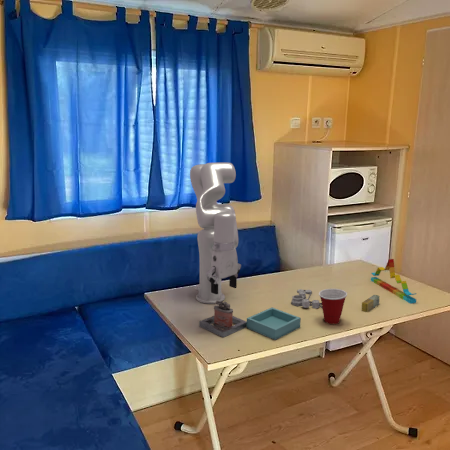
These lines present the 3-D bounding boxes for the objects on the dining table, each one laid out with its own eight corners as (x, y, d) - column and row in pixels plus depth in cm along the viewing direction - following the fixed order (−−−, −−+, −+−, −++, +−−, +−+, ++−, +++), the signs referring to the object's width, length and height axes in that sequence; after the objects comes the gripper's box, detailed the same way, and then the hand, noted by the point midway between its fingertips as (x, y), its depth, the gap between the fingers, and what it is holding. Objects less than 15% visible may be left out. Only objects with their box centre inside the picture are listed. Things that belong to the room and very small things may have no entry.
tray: (246, 327, 182) (246, 318, 181) (271, 316, 192) (272, 307, 191) (275, 340, 172) (275, 329, 171) (300, 327, 182) (300, 317, 181)
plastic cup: (315, 315, 194) (316, 287, 191) (342, 315, 193) (343, 287, 191) (319, 326, 183) (321, 297, 180) (347, 327, 183) (350, 298, 180)
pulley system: (308, 319, 192) (340, 312, 197) (308, 308, 191) (340, 302, 196) (278, 297, 217) (307, 292, 222) (277, 288, 216) (307, 282, 221)
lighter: (234, 327, 182) (234, 302, 180) (229, 330, 179) (230, 305, 177) (216, 322, 186) (217, 298, 184) (212, 325, 183) (212, 301, 181)
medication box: (373, 302, 208) (374, 294, 207) (379, 304, 206) (380, 295, 205) (361, 311, 199) (361, 302, 198) (367, 312, 197) (367, 303, 196)
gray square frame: (199, 326, 183) (199, 321, 182) (223, 316, 192) (223, 311, 191) (223, 337, 174) (223, 332, 173) (247, 326, 183) (247, 321, 182)
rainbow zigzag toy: (416, 303, 208) (420, 270, 204) (410, 304, 207) (413, 271, 203) (376, 280, 236) (378, 251, 233) (370, 281, 235) (373, 251, 232)
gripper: (214, 252, 167) (214, 298, 170) (247, 243, 179) (246, 287, 182) (199, 248, 172) (200, 293, 175) (233, 240, 184) (232, 282, 187)
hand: (223, 290), depth 179 cm, fingers open, 9 cm apart
